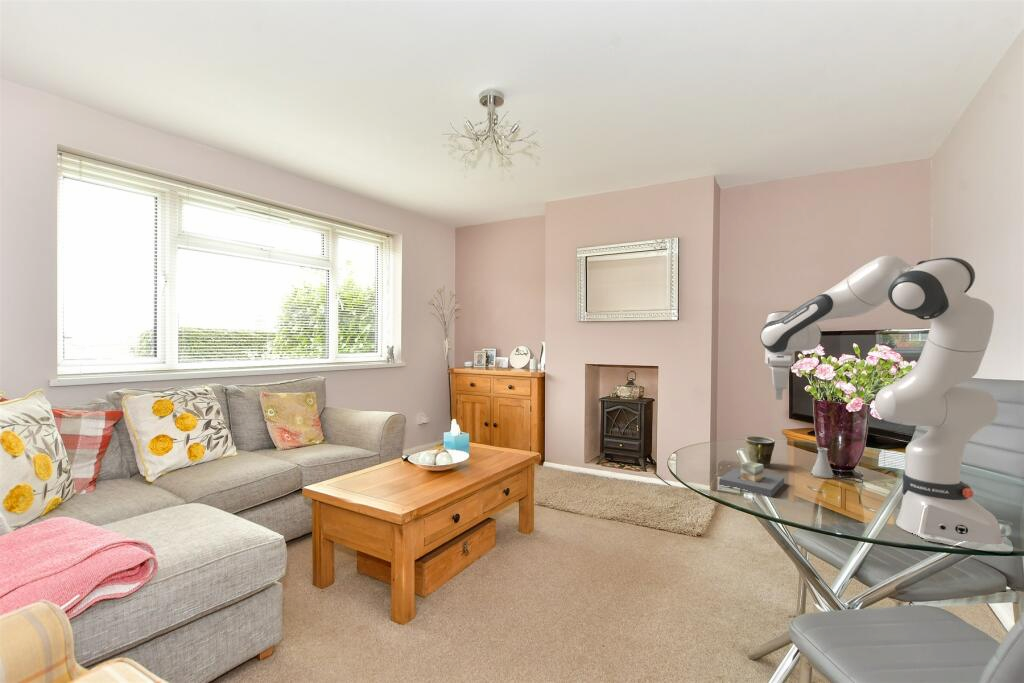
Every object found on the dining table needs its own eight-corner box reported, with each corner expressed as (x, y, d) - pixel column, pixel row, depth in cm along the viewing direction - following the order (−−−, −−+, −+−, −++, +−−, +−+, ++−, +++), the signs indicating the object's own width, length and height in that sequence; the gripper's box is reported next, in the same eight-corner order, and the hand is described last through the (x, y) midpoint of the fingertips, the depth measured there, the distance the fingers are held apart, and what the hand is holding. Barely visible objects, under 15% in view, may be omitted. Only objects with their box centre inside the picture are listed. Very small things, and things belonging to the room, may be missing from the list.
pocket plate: (784, 484, 164) (784, 477, 163) (771, 497, 152) (771, 489, 152) (735, 474, 174) (735, 467, 174) (719, 485, 163) (719, 478, 163)
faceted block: (763, 481, 162) (763, 464, 162) (754, 484, 159) (754, 467, 159) (749, 477, 166) (749, 460, 166) (740, 480, 164) (740, 463, 163)
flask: (809, 471, 176) (810, 444, 176) (833, 474, 173) (833, 447, 172) (810, 477, 170) (811, 449, 170) (835, 480, 166) (835, 452, 166)
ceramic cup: (745, 459, 191) (745, 435, 191) (773, 463, 187) (774, 437, 187) (745, 469, 180) (745, 443, 179) (775, 472, 175) (776, 445, 175)
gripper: (768, 356, 174) (767, 393, 174) (769, 361, 155) (769, 403, 156) (788, 356, 171) (787, 395, 171) (792, 361, 153) (791, 404, 153)
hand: (778, 399), depth 164 cm, fingers closed
